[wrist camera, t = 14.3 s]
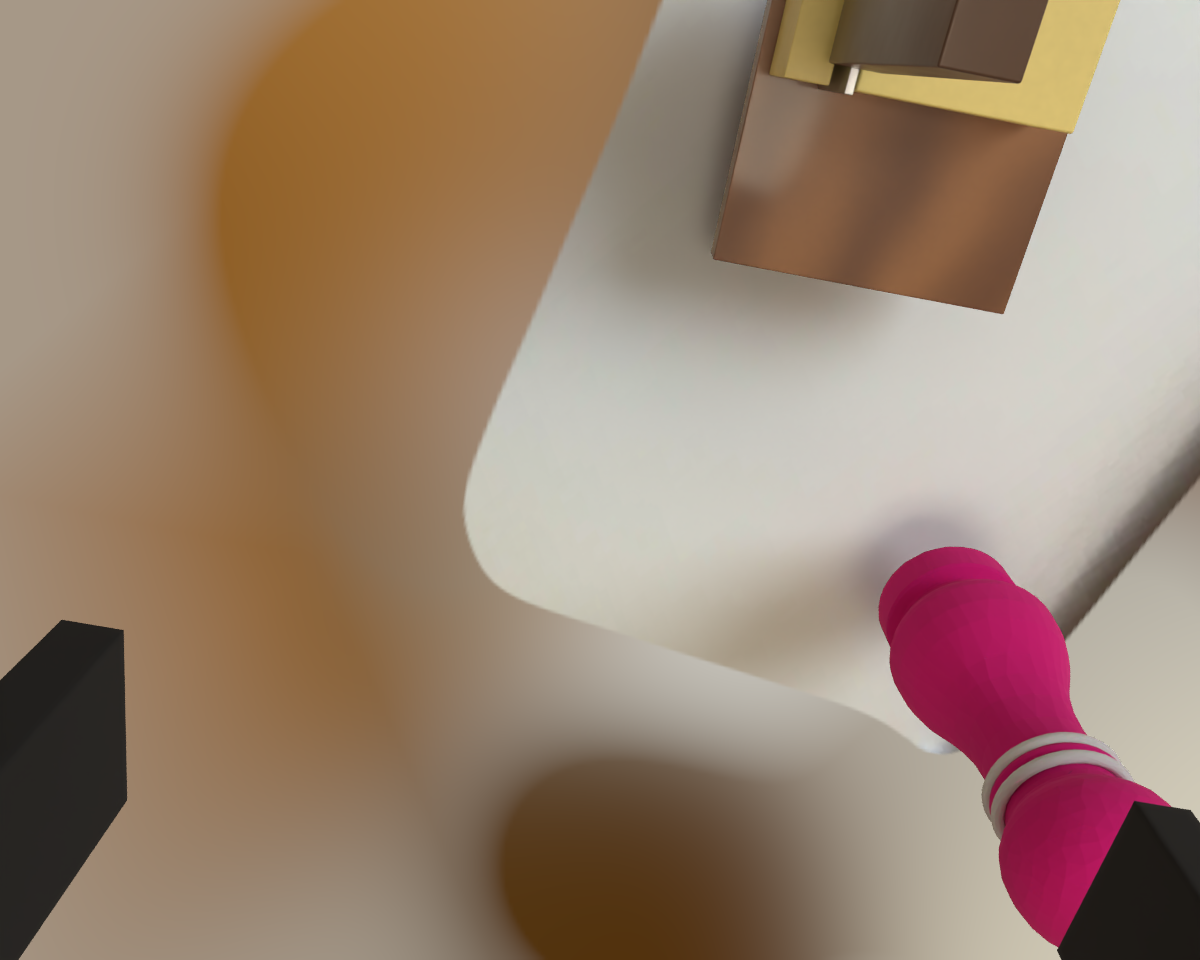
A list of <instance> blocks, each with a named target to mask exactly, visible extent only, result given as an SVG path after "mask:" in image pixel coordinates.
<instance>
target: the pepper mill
mask: <svg viewBox="0 0 1200 960" xmlns="http://www.w3.org/2000/svg"><path fill="white" fill-rule="evenodd" d="M879 621H880V624H881V627H882V630H883V632H884V634H885V636H886V638H887V641H888V643H889V645H890V647H891V648H890V668H891V673H892V676H893V680H894V683H895V685H896V687H897V688H898V690H899V692H900V694H901V695H902V697H903V699H904V701H905V702H906V704H907V706H908V707H909V708H910V709H911V711H912V712H913V713H914V714H915V715H916V716H917V717H918V718H919V719H920V720H921V721H922V722H923V723H924V724H925V725H926V726H927V727H928V728H929V729H930V730H931V731H933V732H934V733H936V734H937V735H939V736H940V737H942V738H943V739H945V740H946V741H948V742H950V743H951V744H953V745H954V746H955V747H957V748H958V749H959V750H960V751H962V752H963V753H964V754H965V755H966V756H967V757H968V758H969V759H970V760H971V761H972V762H973V763H974V764H975V765H976V767H977V768H978V770H979V772H980V773H981V775H982V776H983V778H984V780H985V781H984V784H983V789H982V803H983V807H984V810H985V813H986V814H987V816H988V818H989V820H990V821H991V822H992V825H993V829H994V831H995V833H996V835H997V837H998V838H999V839H1000V841H1001V842H1000V846H999V863H1000V870H1001V876H1002V880H1003V883H1004V885H1005V887H1006V889H1007V892H1008V893H1009V896H1010V898H1011V900H1012V902H1013V904H1014V905H1015V907H1016V909H1017V910H1018V911H1019V912H1020V914H1021V915H1022V916H1023V917H1024V919H1025V920H1026V921H1027V922H1028V924H1029V925H1030V926H1031V927H1032V928H1033V929H1034V930H1035V931H1036V932H1037V933H1039V934H1040V935H1041V936H1042V937H1043V938H1045V939H1046V940H1047V941H1048V942H1050V943H1051V944H1053V945H1055V946H1057V947H1059V945H1060V943H1061V942H1062V940H1063V938H1064V936H1065V934H1066V932H1067V930H1068V928H1069V926H1070V924H1071V922H1072V920H1073V918H1074V916H1075V914H1076V913H1077V911H1078V909H1079V907H1080V905H1081V903H1082V901H1083V899H1084V897H1085V895H1086V893H1087V891H1088V889H1089V887H1090V885H1091V884H1092V882H1093V880H1094V878H1095V876H1096V874H1097V872H1098V870H1099V868H1100V866H1101V864H1102V862H1103V860H1104V858H1105V856H1106V855H1107V853H1108V851H1109V849H1110V847H1111V845H1112V843H1113V841H1114V839H1115V837H1116V835H1117V833H1118V831H1119V829H1120V827H1121V826H1122V824H1123V822H1124V820H1125V818H1126V816H1127V814H1128V812H1129V810H1130V808H1131V806H1132V804H1133V802H1134V801H1139V802H1145V803H1151V804H1156V805H1162V806H1168V807H1171V806H1170V805H1169V804H1168V803H1167V802H1166V801H1164V800H1163V799H1162V798H1160V797H1159V796H1158V795H1157V794H1155V793H1154V792H1153V791H1151V790H1150V789H1147V788H1145V787H1143V786H1141V785H1139V784H1137V783H1135V782H1134V780H1133V778H1132V776H1131V774H1130V773H1129V771H1128V770H1127V769H1126V768H1125V767H1124V766H1123V765H1122V763H1121V761H1120V759H1119V757H1118V756H1117V754H1116V753H1115V752H1114V751H1113V750H1112V749H1111V748H1110V747H1109V746H1108V745H1106V744H1105V743H1104V742H1102V741H1100V740H1098V739H1096V738H1094V737H1091V736H1088V735H1087V734H1086V733H1085V732H1084V731H1083V729H1082V727H1081V725H1080V723H1079V722H1078V720H1077V718H1076V716H1075V714H1074V712H1073V708H1072V706H1071V702H1070V697H1069V688H1070V665H1069V657H1068V652H1067V648H1066V644H1065V640H1064V637H1063V635H1062V633H1061V630H1060V628H1059V627H1058V625H1057V623H1056V621H1055V620H1054V618H1053V616H1052V615H1051V613H1050V612H1049V610H1048V609H1047V608H1046V606H1045V605H1044V604H1043V603H1042V602H1041V601H1040V600H1039V599H1038V598H1037V597H1035V596H1034V595H1032V594H1031V593H1029V592H1028V591H1026V590H1025V589H1023V588H1021V587H1018V586H1016V585H1015V584H1014V582H1013V581H1012V580H1011V578H1010V577H1009V575H1008V574H1007V573H1006V571H1005V570H1004V568H1003V567H1002V566H1001V565H1000V564H999V563H998V562H997V561H996V560H995V559H993V558H992V557H991V556H989V555H987V554H985V553H983V552H981V551H978V550H975V549H971V548H965V547H943V548H938V549H934V550H930V551H926V552H924V553H922V554H920V555H918V556H916V557H914V558H912V559H911V560H909V561H907V562H905V563H904V564H903V565H902V566H901V567H900V568H899V569H898V570H897V571H896V572H895V573H894V574H893V575H892V576H891V577H890V579H889V580H888V582H887V583H886V585H885V587H884V589H883V591H882V594H881V597H880V602H879Z"/></svg>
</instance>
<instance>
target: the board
mask: <svg viewBox="0 0 1200 960" xmlns="http://www.w3.org/2000/svg"><path fill="white" fill-rule="evenodd" d="M785 4H786V0H767V4H766V8H765V13H764V17H763V22H762V26H761V31H760V35H759V40H758V44H757V48H756V53H755V57H754V62H753V66H752V71H751V75H750V80H749V84H748V88H747V93H746V97H745V102H744V106H743V111H742V115H741V120H740V124H739V128H738V133H737V137H736V142H735V146H734V151H733V155H732V160H731V164H730V168H729V173H728V177H727V182H726V186H725V191H724V195H723V200H722V204H721V208H720V213H719V217H718V222H717V226H716V231H715V235H714V240H713V244H712V248H711V254H712V256H713V259H714V260H720V261H725V262H730V263H735V264H741V265H746V266H751V267H757V268H762V269H767V270H772V271H778V272H783V273H788V274H793V275H799V276H804V277H809V278H815V279H820V280H825V281H830V282H836V283H841V284H846V285H852V286H857V287H862V288H867V289H873V290H878V291H883V292H888V293H894V294H899V295H904V296H910V297H915V298H920V299H925V300H931V301H936V302H941V303H946V304H952V305H957V306H962V307H968V308H973V309H978V310H983V311H989V312H994V313H999V314H1004V311H1005V308H1006V305H1007V303H1008V300H1009V297H1010V294H1011V291H1012V289H1013V286H1014V283H1015V280H1016V277H1017V274H1018V272H1019V269H1020V266H1021V263H1022V260H1023V258H1024V255H1025V252H1026V249H1027V246H1028V243H1029V241H1030V238H1031V235H1032V232H1033V229H1034V227H1035V224H1036V221H1037V218H1038V215H1039V212H1040V210H1041V207H1042V204H1043V201H1044V198H1045V196H1046V193H1047V190H1048V187H1049V184H1050V181H1051V179H1052V176H1053V173H1054V170H1055V167H1056V165H1057V162H1058V159H1059V156H1060V153H1061V151H1062V148H1063V145H1064V142H1065V139H1066V136H1067V134H1068V133H1062V132H1057V131H1051V130H1046V129H1040V128H1035V127H1029V126H1024V125H1019V124H1014V123H1009V122H1004V121H999V120H994V119H989V118H984V117H979V116H974V115H969V114H964V113H959V112H953V111H948V110H943V109H938V108H933V107H928V106H923V105H918V104H913V103H908V102H903V101H898V100H893V99H888V98H883V97H878V96H873V95H868V94H863V93H858V92H854V93H853V95H846V94H841V93H836V92H830V91H825V90H820V89H818V85H819V84H813V83H807V82H802V81H797V80H792V79H787V78H782V77H777V76H772V75H770V74H769V73H770V68H771V64H772V60H773V55H774V51H775V47H776V43H777V38H778V34H779V30H780V25H781V21H782V17H783V12H784V8H785Z"/></svg>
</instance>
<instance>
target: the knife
mask: <svg viewBox="0 0 1200 960" xmlns="http://www.w3.org/2000/svg"><path fill="white" fill-rule="evenodd" d="M1048 1H1049V0H844V4H843V8H842V12H841V16H840V19H839V23H838V27H837V31H836V35H835V39H834V43H833V47H832V51H831V55H830V59H829V63H831V64H835V65H834V69H833V73H832V76H831V80H830V84H829V85H828V86H826V85H818V89H820V90H825V91H830V92H836V93H841V94H846V95H853V93H854V89H855V85H856V82H857V78H858V74H859V70H860V69H861V70H866V71H871V72H876V73H881V74H895V75H908V76H921V77H935V78H948V79H961V80H974V81H988V82H1001V83H1014V84H1019V83H1021V82H1022V79H1023V76H1024V73H1025V70H1026V67H1027V64H1028V61H1029V58H1030V55H1031V52H1032V49H1033V46H1034V43H1035V40H1036V37H1037V34H1038V31H1039V28H1040V25H1041V22H1042V19H1043V16H1044V13H1045V10H1046V7H1047V4H1048Z"/></svg>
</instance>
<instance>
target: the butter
mask: <svg viewBox="0 0 1200 960" xmlns="http://www.w3.org/2000/svg"><path fill="white" fill-rule="evenodd" d="M1119 2H1120V0H1049V1H1048V4H1047V7H1046V10H1045V13H1044V16H1043V19H1042V22H1041V25H1040V28H1039V31H1038V34H1037V37H1036V40H1035V43H1034V46H1033V49H1032V52H1031V55H1030V58H1029V61H1028V64H1027V67H1026V70H1025V73H1024V76H1023V79H1022V82H1021V83H1019V84H1014V83H1001V82H988V81H974V80H961V79H948V78H935V77H921V76H908V75H895V74H881V73H876V72H871V71H866V70H861V69H860V70H859V74H858V78H857V82H856V85H855V89H854V92H858V93H863V94H868V95H873V96H878V97H883V98H888V99H893V100H898V101H903V102H908V103H913V104H918V105H923V106H928V107H933V108H938V109H943V110H948V111H953V112H959V113H964V114H969V115H974V116H979V117H984V118H989V119H994V120H999V121H1004V122H1009V123H1014V124H1019V125H1024V126H1029V127H1035V128H1040V129H1046V130H1051V131H1057V132H1062V133H1068V134H1071V133H1073V131H1074V128H1075V125H1076V123H1077V120H1078V117H1079V114H1080V111H1081V109H1082V106H1083V103H1084V100H1085V97H1086V95H1087V92H1088V89H1089V86H1090V83H1091V81H1092V78H1093V75H1094V72H1095V69H1096V67H1097V64H1098V61H1099V58H1100V55H1101V53H1102V50H1103V47H1104V44H1105V41H1106V38H1107V36H1108V33H1109V30H1110V27H1111V24H1112V22H1113V19H1114V16H1115V13H1116V10H1117V8H1118V5H1119ZM843 4H844V0H786V4H785V8H784V12H783V17H782V21H781V25H780V30H779V34H778V38H777V43H776V47H775V51H774V55H773V60H772V64H771V68H770V73H769V74H770V75H772V76H777V77H782V78H787V79H792V80H797V81H802V82H807V83H813V84H819V85H826V86H828V85H829V84H830V80H831V76H832V73H833V69H834V65H835V64H831V63H829V59H830V55H831V51H832V47H833V43H834V39H835V35H836V31H837V27H838V23H839V19H840V16H841V12H842V8H843Z"/></svg>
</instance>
